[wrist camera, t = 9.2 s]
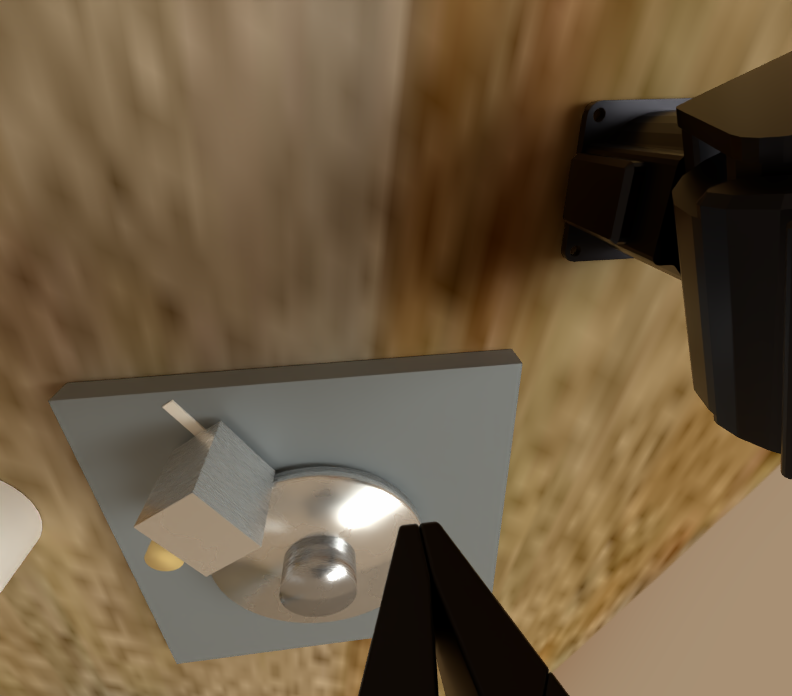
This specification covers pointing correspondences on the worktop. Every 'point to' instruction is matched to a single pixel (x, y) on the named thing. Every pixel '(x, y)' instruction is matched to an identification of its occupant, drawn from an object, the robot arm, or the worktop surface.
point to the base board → (299, 465)
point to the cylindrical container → (16, 530)
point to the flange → (277, 528)
